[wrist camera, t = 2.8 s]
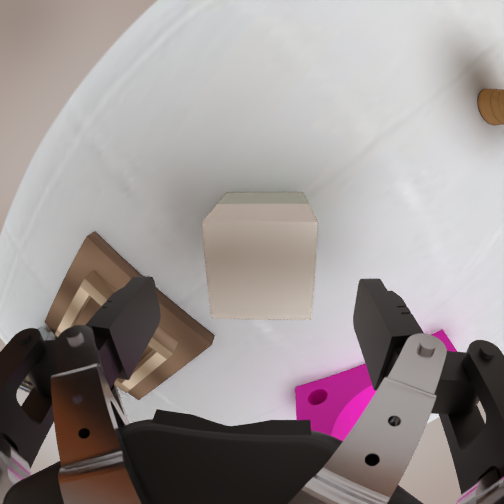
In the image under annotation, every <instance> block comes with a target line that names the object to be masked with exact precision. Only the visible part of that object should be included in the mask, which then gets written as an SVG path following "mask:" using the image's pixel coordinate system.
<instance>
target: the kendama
mask: <svg viewBox="0 0 504 504" xmlns="http://www.w3.org/2000/svg"><path fill="white" fill-rule="evenodd" d="M478 106H479V110H480V113H481V115H482V117H483V118H484V120H486V122H488V123H489V124H491V125H500V124H504V90H497V89H484V90H482V91H481V92H480V94H479V97H478Z"/></svg>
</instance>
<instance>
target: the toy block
mask: <svg viewBox="0 0 504 504" xmlns="http://www.w3.org/2000/svg"><path fill="white" fill-rule="evenodd" d="M432 336H435V337H437V338H438V339H440V340H441V341H442V342H443V343H444V345H445V346H446V349H447V351H453V352H457V350H456V349H455V347H454V346H453V344H452V343H451V341H450V340H449V338H448V337H447V335H446V334H445V333H444V331H443V330H440V331H438V332H436V333H434V334H432ZM295 390H296V416H297V420H310V421H311V430H312V431H318V432H321V433H325V434H328V435H331V436H333V437H335V438H337V439H339V440H341V441H344V439H345V438H346V437H347V435H348V434H349V432H350V431H351V430H352V428H353V427H354V425H355V424H356V422H357V421H358V419H359V418H360V416H361V415H362V413H363V412H364V410H365V409H366V407H367V406H368V404H369V402H370V401H371V399H372V398H373V396H374V394H375V393H376V391H377V390H374V389H373V386H372V382H371V379H370V376H369V373H368V369H367V366H366V364H363V365H361V366H358V367H355V368H352V369H350V370H347V371H344V372H341V373H338V374H335V375H332V376H329V377H326V378H323V379H320V380H317V381H314V382H311V383H307V384H304V385H301V386H297V387H295Z"/></svg>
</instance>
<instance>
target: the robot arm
mask: <svg viewBox="0 0 504 504" xmlns="http://www.w3.org/2000/svg"><path fill="white" fill-rule="evenodd" d="M106 301H107V302H105V303H104V304H103V305H102V306H101V308H100V309H99V310H98V311H97V312H96V313H95V314H94V315H93V317H92V318H91V319H90V320H89V321H88V323H87V324H86V325H76V326H72V327H69V328H67V329H66V330H64V331H63V332H62V333H61V334H60V335H59V336H58V339H57V340H43V337H42V335H41V333H40V331H39V330H38V329H35V328H29V329H25V330H22V331H20V332H19V333H17V334H16V335H15V336H14V337H13V338H12V339H11V340H10V342H9V343H8V344H7V345H6V346H5V347H4V349H3V350H2V351H1V352H0V504H423V503H421V502H420V501H419V500H417V499H416V498H415V497H413V496H412V495H411V494H409V493H408V492H407V491H405V490H404V489H403V488H401V487H400V486H399V485H398V483H399V481H400V480H401V478H402V476H403V474H404V472H405V470H406V468H407V466H408V464H409V462H410V460H411V458H412V456H413V454H414V452H415V450H416V448H417V445H418V443H419V441H420V439H421V436H422V434H423V431H424V429H425V426H426V424H427V422H428V419H429V417H430V414H431V413H436V414H439V416H440V419H441V422H442V425H443V428H444V431H445V434H446V437H447V441H448V444H449V447H450V451H451V454H452V458H453V461H454V465H455V469H456V473H457V477H458V481H459V485H460V489H461V494H462V495H461V496H460V497H459V499H458V501H457V503H456V504H504V355H503V354H502V352H501V351H500V349H499V348H498V347H497V346H495V345H494V344H492V343H490V342H488V341H484V340H476V341H474V342H472V343H471V344H470V345H469V347H468V350H467V352H466V353H463V352H453V351H447V349H446V346H445V345H444V343H443V342H442V341H441V340H440V339H438V338H437V337H435V336H432V335H429V334H424V333H423V331H422V329H421V328H420V326H419V325H418V323H417V321H416V320H415V318H414V316H413V315H412V314H411V312H410V310H409V309H408V307H406V304H405V302H404V301H403V299H402V298H401V297H400V296H399V295H397V294H396V293H394V292H393V291H387V289H386V288H385V286H384V284H383V283H382V281H381V280H380V279H361V280H360V281H359V285H358V291H357V297H356V303H355V309H354V316H353V324H354V329H355V332H356V335H357V338H358V341H359V344H360V347H361V350H362V354H363V357H364V360H365V363H366V366H367V369H368V373H369V376H370V379H371V382H372V386H373V389H374V390H377V391H376V393H375V394H374V396H373V398H372V399H371V401H370V402H369V404H368V406H367V407H366V409H365V410H364V412H363V413H362V415H361V416H360V418H359V419H358V421H357V422H356V424H355V425H354V427H353V428H352V430H351V431H350V432H349V434H348V435H347V437H346V438H345V439H344V441H341V440H339V439H337V438H335V437H333V436H331V435H328V434H325V433H321V432H318V431H312V430H311V421H310V420H269V421H264V422H258V423H252V424H245V425H238V426H225V425H222V424H219V423H215V422H212V421H209V420H206V419H203V418H200V417H197V416H194V415H191V414H183V413H176V412H170V411H163V410H158V409H157V410H156V413H155V415H154V418H153V419H151V420H143V421H138V422H134V423H131V424H130V423H129V421H128V418H127V416H126V413H125V410H124V407H123V404H122V402H121V399H120V396H119V393H118V390H117V387H116V385H115V381H116V379H117V378H120V379H125V380H129V379H130V377H131V376H132V374H133V372H134V370H135V368H136V366H137V364H138V362H139V360H140V359H141V357H142V355H143V353H144V351H145V349H146V347H147V346H148V344H149V342H150V340H151V338H152V336H153V335H154V333H155V331H156V329H157V327H158V325H159V323H160V318H161V312H160V306H159V302H158V297H157V292H156V287H155V282H154V280H153V278H152V277H143V276H134V277H132V279H131V280H130V281H129V282H128V283H127V284H126V285H125V287H122V288H121V289H119V290H118V291H116V292H114V293H113V294H112V295H111V296H110V297H109V298H108V299H107V300H106ZM26 376H28V378H29V379H30V381H31V383H32V384H33V386H34V387H33V389H32V390H31V392H30V394H29V395H28V397H27V398H26V400H25V402H24V403H23V405H22V406H20V405H19V403H18V401H17V398H16V393H17V389H18V388H19V386H20V385H21V383H22V382H23V381H24V379H25V378H26ZM479 401H480V402H481V404H482V406H483V408H484V411H485V413H486V424H485V423H484V421H483V418H482V416H481V414H480V411H479V409H478V407H477V404H478V402H479ZM53 422H54V424H55V432H56V439H57V445H58V450H59V456H60V461H59V462H57V463H55V464H53V465H51V466H49V467H48V468H45V469H43V470H41V471H39V472H37V473H35V474H33V475H31V476H30V474H31V473H30V468H31V466H32V464H33V462H34V460H35V458H36V456H37V454H38V451H39V449H40V447H41V445H42V443H43V441H44V439H45V437H46V435H47V433H48V432H49V430H50V428H51V426H52V424H53Z"/></svg>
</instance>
